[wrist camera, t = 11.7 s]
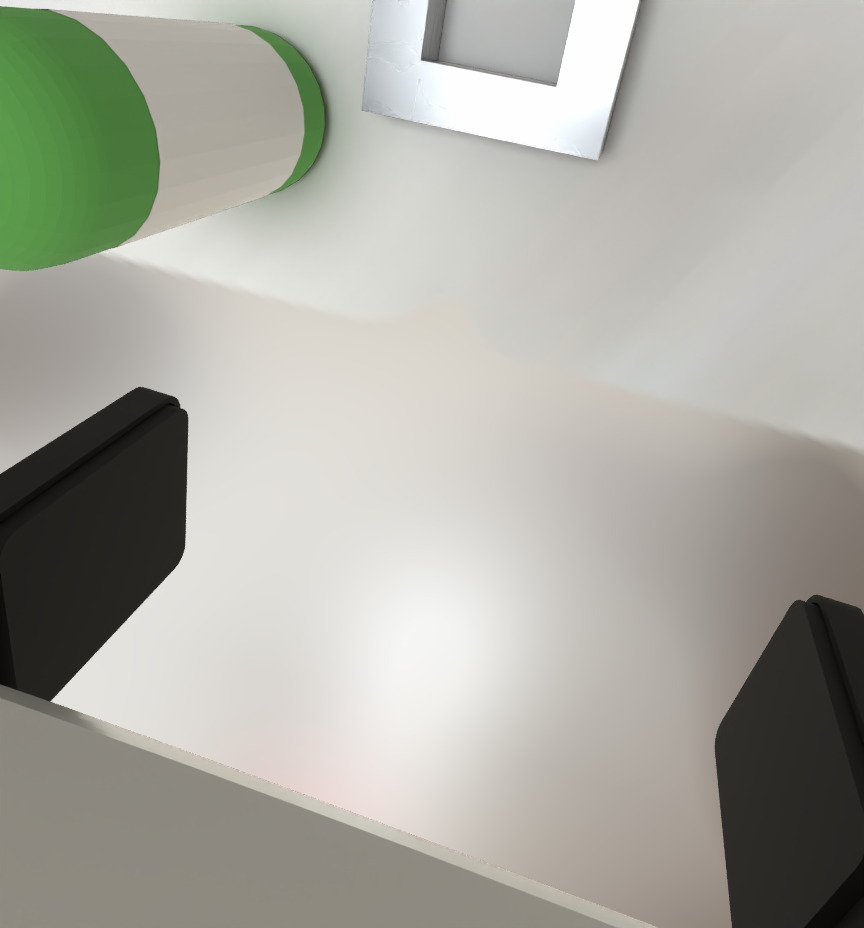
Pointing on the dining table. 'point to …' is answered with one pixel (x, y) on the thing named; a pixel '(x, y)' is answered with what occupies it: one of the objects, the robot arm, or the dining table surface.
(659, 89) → the dining table surface
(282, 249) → the dining table surface
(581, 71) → the socket block
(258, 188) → the wine bottle
